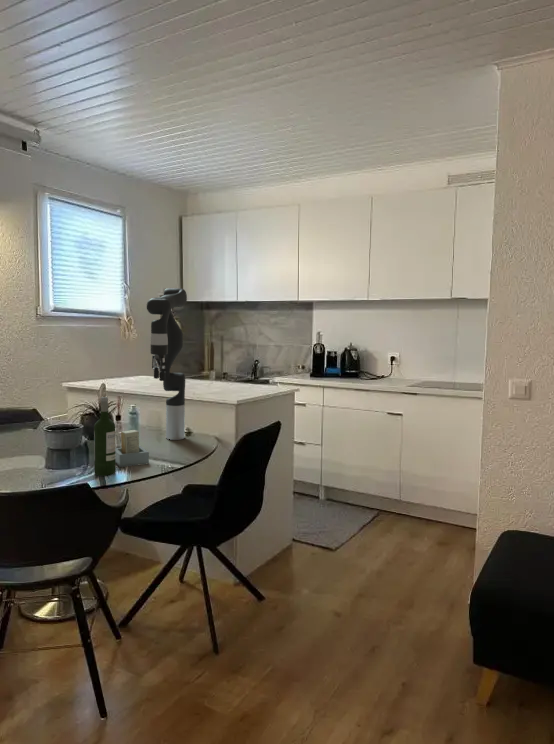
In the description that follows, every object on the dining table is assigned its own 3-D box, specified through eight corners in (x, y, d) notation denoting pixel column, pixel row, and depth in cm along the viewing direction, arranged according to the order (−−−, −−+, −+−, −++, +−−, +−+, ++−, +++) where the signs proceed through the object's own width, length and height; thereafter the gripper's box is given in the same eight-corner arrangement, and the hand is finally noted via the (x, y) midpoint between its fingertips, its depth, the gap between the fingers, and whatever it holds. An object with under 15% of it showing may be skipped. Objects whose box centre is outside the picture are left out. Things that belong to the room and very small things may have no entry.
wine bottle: (114, 475, 208) (113, 398, 205) (92, 476, 206) (91, 399, 203) (116, 470, 215) (116, 395, 212) (96, 470, 214) (95, 395, 211)
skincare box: (134, 457, 231) (134, 429, 230) (139, 459, 228) (139, 431, 226) (120, 459, 227) (120, 431, 225) (125, 462, 224) (125, 433, 222)
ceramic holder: (113, 459, 230) (112, 448, 229) (141, 456, 236) (141, 445, 235) (119, 467, 220) (119, 455, 219) (148, 463, 225) (148, 452, 225)
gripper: (172, 344, 236) (172, 381, 238) (162, 342, 249) (162, 377, 250) (155, 344, 233) (155, 382, 234) (146, 342, 245) (146, 378, 247)
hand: (159, 379), depth 242 cm, fingers open, 8 cm apart
